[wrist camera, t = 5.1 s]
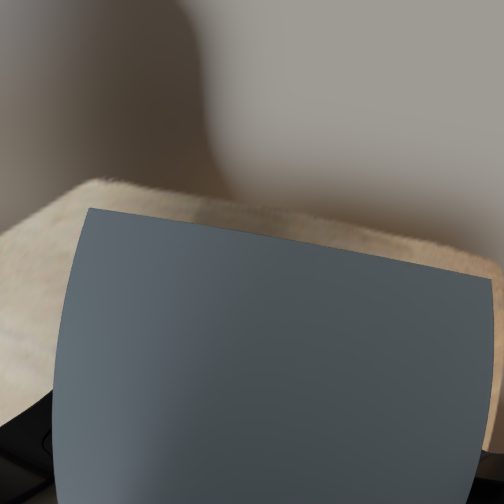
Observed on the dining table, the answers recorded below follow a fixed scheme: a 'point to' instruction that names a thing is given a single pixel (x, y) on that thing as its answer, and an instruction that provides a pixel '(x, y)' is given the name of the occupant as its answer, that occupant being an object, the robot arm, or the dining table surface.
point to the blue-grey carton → (264, 371)
